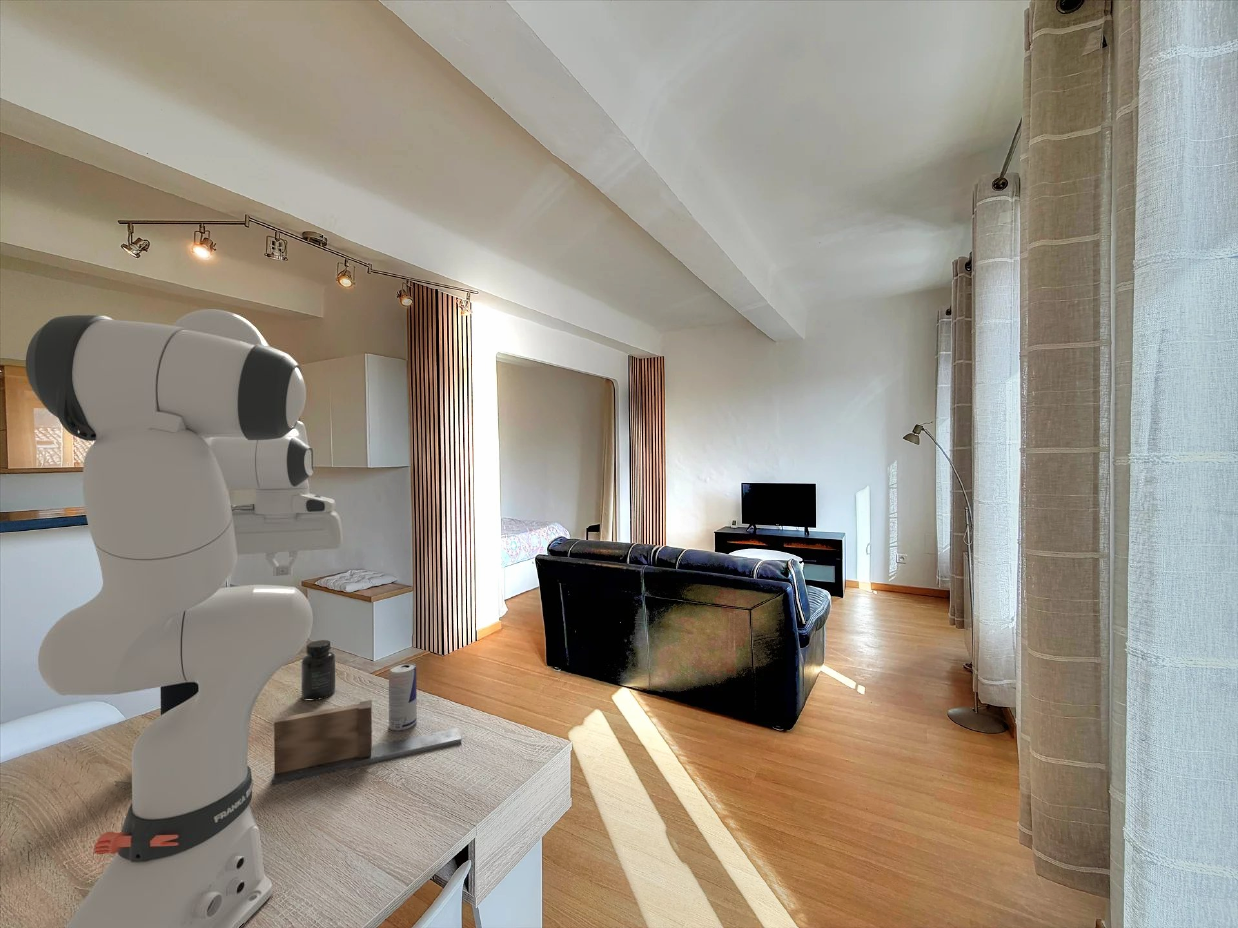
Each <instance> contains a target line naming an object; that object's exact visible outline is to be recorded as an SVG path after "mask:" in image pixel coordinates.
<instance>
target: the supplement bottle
mask: <svg viewBox="0 0 1238 928" xmlns="http://www.w3.org/2000/svg"><path fill="white" fill-rule="evenodd" d="M306 644H307V643H306ZM305 649H306V652H305V654H306V655H305V656H304V657H303V658H302V660H301V663H300V665H301V667H300V669H301V673H300V674H301V683H300V684H301V698H302V699H303V698H304V699H303V700H305V699H319V698H323V699H325V698H324V697H326V696H328V697H330V696H332V695H333V694H334V693H335V691H336V655H335V653H334V652H332V651H331V650H332V647H331V641H330V640H326V639H322V640H321V639H319V640H315V641H311V642H308V644H307V645H306V648H305ZM333 692H334V693H333ZM331 694H332V695H331ZM329 695H330V696H329ZM326 698H327V697H326Z"/></svg>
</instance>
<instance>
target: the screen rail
mask: <svg viewBox="0 0 1238 928" xmlns="http://www.w3.org/2000/svg"><path fill="white" fill-rule="evenodd" d="M461 736H462V735H461V732H460V727H454V728H450V729H446V730H440V731H436V732H432V733H426V734H422V735H417V736H416V735H415V736H412V737H411V736H410V737H407V738H402V739H398V740H392V741H386V742H382V743H378V744H374V745H373V744H372V750H371V756H367V757H363V758H359V756H358V757H353V758H349V759H344V760H339V761H335V762H330V763H325V764H321V765H316V766H311V767H306V768H302V769H297V770H292V771H288V772H283V773H278V774H274V773H273V775H272V778H271V786H274V785H278V784H282V783H287V782H292V781H297V780H302V779H305V778H311V777H315V776H319V775H320V776H321V775H324V774H328V773H333V772H337V771H342V770H346V769H351V768H352V769H353V768H355V767H356V768H357V767H360V766H361V767H362V766H365V765H369V764H373V763H379V762H383V761H388V760H392V759H396V758H401V757H405V756H406V757H407V756H410V755H416V754H418V753H423V752H428V751H433V750H437V749H441V748H442V749H443V748H446V747H451V746H455V745H459V744H460V745H461V744H462V737H461Z"/></svg>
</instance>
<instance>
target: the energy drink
mask: <svg viewBox="0 0 1238 928" xmlns="http://www.w3.org/2000/svg"><path fill="white" fill-rule="evenodd" d="M417 672H418V671H417V667H416V664H415V663H413V662H401V663H397V664H394V665H393V666H391V667H390V668H389V672H388V728H389V729H391V730H392V731H394V732H395V731H396V732H399V731H401V730H402V731H405V730H408V729H410V728H413V726H415V725H416V724H417V720H418V719H417V717H418V716H417V715H418V714H417V713H418V712H417V710H418V709H417V708H418V706H417V705H418V703H417V702H418V701H417V699H418V698H417V694H418V692H417V690H418V689H417V682H418V681H417V678H418V677H417V675H418V673H417ZM402 731H401V732H402Z"/></svg>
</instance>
